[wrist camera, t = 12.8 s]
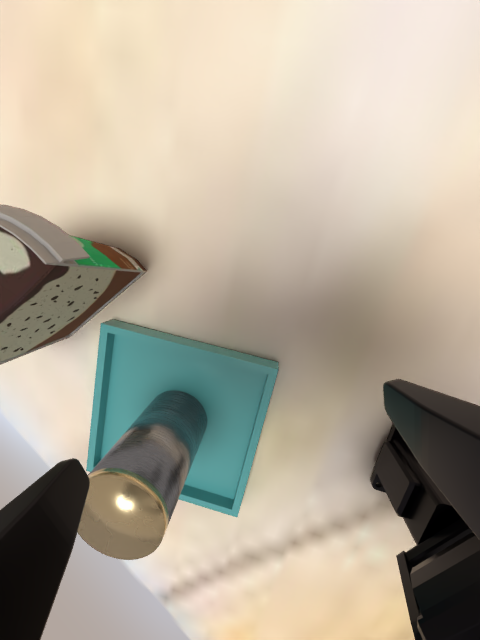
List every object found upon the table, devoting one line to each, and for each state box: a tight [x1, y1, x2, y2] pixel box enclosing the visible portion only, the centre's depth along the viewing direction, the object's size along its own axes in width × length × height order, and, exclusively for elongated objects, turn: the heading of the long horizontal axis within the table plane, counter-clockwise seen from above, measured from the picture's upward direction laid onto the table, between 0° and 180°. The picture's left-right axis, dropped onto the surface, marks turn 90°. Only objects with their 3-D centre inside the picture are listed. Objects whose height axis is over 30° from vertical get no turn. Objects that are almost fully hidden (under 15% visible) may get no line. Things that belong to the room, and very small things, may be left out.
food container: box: [0, 205, 147, 365], centre depth 16 cm, size 12×6×10 cm, turn 127°
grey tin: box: [77, 390, 207, 560], centre depth 18 cm, size 5×5×9 cm
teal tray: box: [86, 319, 278, 517], centre depth 22 cm, size 14×14×2 cm
